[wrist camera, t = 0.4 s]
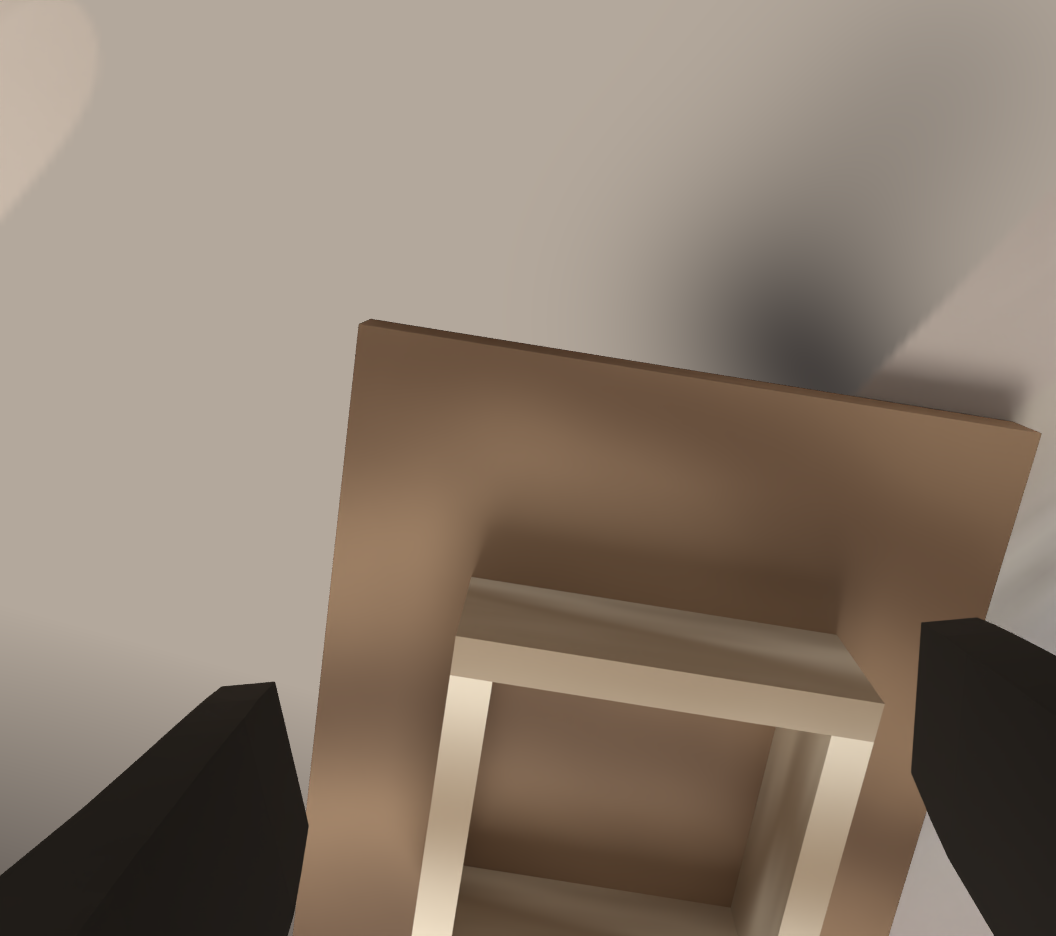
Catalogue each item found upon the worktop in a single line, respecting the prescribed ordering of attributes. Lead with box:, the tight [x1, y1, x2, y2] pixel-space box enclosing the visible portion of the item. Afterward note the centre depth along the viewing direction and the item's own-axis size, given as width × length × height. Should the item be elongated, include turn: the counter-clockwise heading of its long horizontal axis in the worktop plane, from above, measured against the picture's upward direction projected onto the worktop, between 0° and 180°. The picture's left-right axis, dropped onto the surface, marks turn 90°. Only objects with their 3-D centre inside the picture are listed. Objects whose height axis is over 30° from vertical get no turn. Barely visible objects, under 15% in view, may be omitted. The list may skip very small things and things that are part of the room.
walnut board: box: [293, 319, 1042, 936], centre depth 20 cm, size 18×14×4 cm
